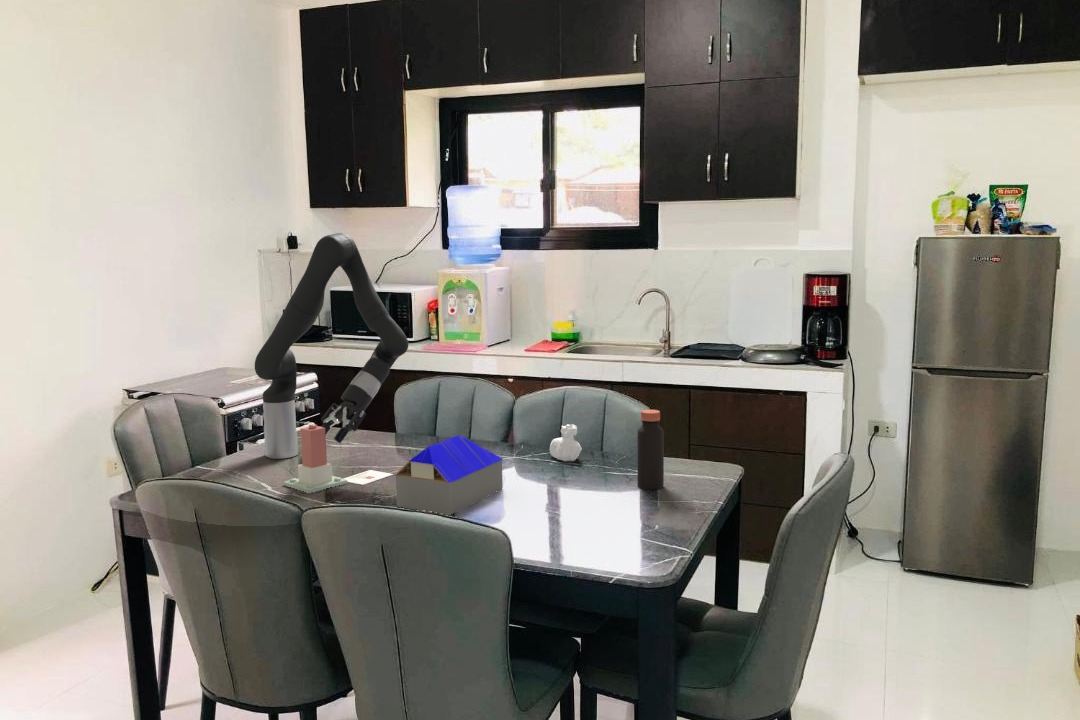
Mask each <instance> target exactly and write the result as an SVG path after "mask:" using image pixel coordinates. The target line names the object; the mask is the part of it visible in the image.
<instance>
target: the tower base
mask: <svg viewBox="0 0 1080 720" xmlns="http://www.w3.org/2000/svg"><path fill="white" fill-rule="evenodd" d="M332 468H333V465H332V463H329V462H327V464H326V465H322V466H317V467H313V468H311V467H308V466H304V465H303V464H301V463H300V464H297V474H298V475H297V476H298V477H297V478H295V477H293V478H289V480H286V481H283V486H285V485H286V486H285V487H289V488H290V487H291V489H293V488H295V489H294V490H296V489H298V490H297V491H299V490H301V491H300V492H302V491H304V492H303V493H305V492H307V493H306V494H308V493H309V494H311V493H310V492H313V493H315V492H314V491H317V492H320V491H319V490H321V491H324V490H323V489H325V490H327V489H326V488H329V489H331V488H330V487H332V488H336V487H339V485H340V486H344V485H348V482H347V480H345V479H344V478H342V477H341V476H340V477H339V476H335V475H333V469H332ZM335 486H336V487H335Z"/></svg>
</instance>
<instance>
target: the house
mask: <svg viewBox="0 0 1080 720" xmlns="http://www.w3.org/2000/svg"><path fill="white" fill-rule="evenodd" d="M503 461H504V458H502V457H500V456H499V455H497V454H495V453H493V452H492V451H489V450H488V449H486V448H484V447H483V446H481V445H478V444H477V443H475V442H473V441H472V440H469V439H468V438H466V437H464V436H463V435H460V434H458V435H455V436H453V437H450V438H447V439H445V440H441V441H440V442H437V443H434V444H431V445H428V446H427V447H425V448H424V449H423V450H422V451H419V453H418V454H416V455H414V457H411V459H409V460H408V461H407V462H406V463H405V464H404V465H402V467H401V468H400V469H399V470H398V471H397V472H396V473H395V474H394V475H393V476H394V477H395V482H396V483H395V487H396V506H397V507H396V508H401V507H403V508H402V509H407V508H409V509H408V510H413V509H418V510H417V511H419V510H425V511H432V512H437V513H443V514H448V515H447V516H449V515H450V516H451V514H452V515H453V513H454V512H456V513H458V512H459V510H460V511H462V510H464V509H466V508H468V507H469V506H472V505H474V504H475V503H476V504H477V503H478V502H480V501H482V500H484V499H485V497H486V498H487V497H489V496H491V495H493V494H495V493H497V492H499V491H501V490H503V489H502V488H503ZM500 489H501V490H500ZM498 490H499V491H498ZM496 491H497V492H496ZM494 492H495V493H494ZM492 493H493V494H492ZM490 494H491V495H490ZM488 495H489V496H488ZM483 498H484V499H483ZM481 499H482V500H481ZM479 500H480V501H479ZM477 501H478V502H477ZM461 509H462V510H461ZM425 511H424V512H425ZM457 511H458V512H457ZM437 513H436V514H437ZM443 514H442V515H443ZM454 514H455V513H454Z"/></svg>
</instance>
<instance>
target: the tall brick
mask: <svg viewBox="0 0 1080 720" xmlns="http://www.w3.org/2000/svg"><path fill="white" fill-rule="evenodd" d="M326 435H327V434H326ZM326 435H325V428H324V427H322V426H318V424H314V423H313V424H309V425H308V426H306V427H301V428H300V443H301V458H302V460H301V463H302V464H303V465H304V466H308V467H311V468H313V467H317V466H322V465H326V464H327V463H328V459H327V458H328V457H327V439H326V437H327V436H326Z"/></svg>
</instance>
